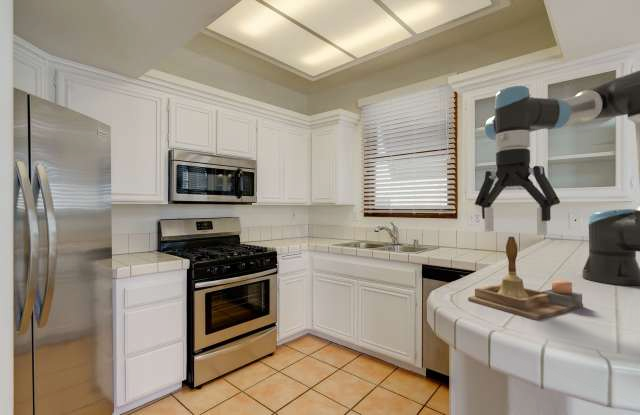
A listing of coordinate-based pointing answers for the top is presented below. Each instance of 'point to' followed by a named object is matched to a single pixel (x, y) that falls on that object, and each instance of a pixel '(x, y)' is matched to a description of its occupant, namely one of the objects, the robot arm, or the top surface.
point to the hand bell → (512, 274)
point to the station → (528, 302)
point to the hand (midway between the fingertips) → (513, 233)
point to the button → (562, 287)
